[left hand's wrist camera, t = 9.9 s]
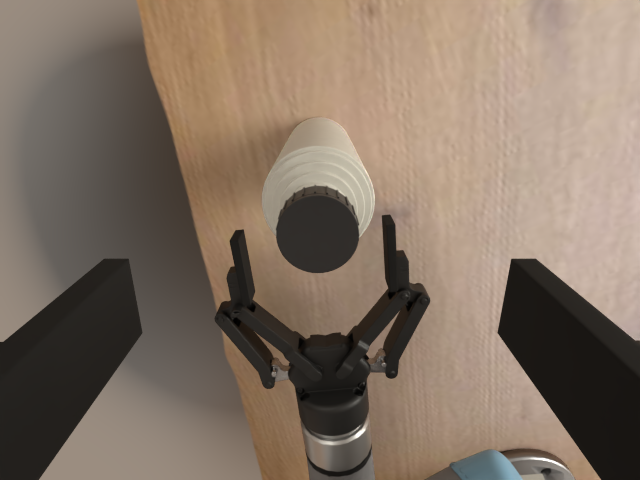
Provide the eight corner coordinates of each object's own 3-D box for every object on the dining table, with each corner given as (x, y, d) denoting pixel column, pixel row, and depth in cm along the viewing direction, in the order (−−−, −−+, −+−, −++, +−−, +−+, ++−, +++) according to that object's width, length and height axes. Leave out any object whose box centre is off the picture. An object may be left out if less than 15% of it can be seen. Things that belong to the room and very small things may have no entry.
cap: (309, 168, 19) (308, 176, 17) (373, 215, 20) (378, 228, 18) (263, 229, 20) (258, 243, 18) (325, 272, 21) (325, 288, 19)
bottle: (312, 103, 39) (302, 131, 17) (364, 144, 40) (417, 220, 18) (274, 156, 41) (220, 244, 19) (324, 194, 42) (330, 317, 20)
